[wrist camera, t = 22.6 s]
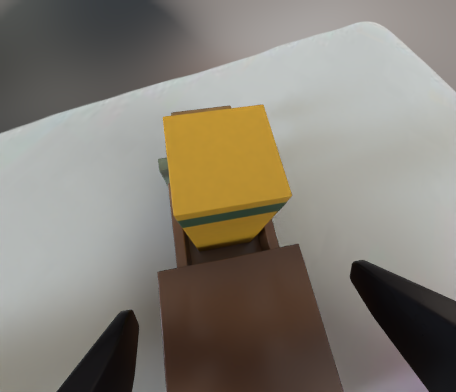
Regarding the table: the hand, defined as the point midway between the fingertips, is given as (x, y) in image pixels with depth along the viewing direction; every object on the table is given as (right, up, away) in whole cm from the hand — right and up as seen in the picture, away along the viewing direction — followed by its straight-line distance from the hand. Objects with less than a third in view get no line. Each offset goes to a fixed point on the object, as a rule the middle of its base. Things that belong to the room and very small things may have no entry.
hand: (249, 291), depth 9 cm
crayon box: (-2, +1, +12) cm, 12 cm away
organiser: (0, -8, +10) cm, 13 cm away
